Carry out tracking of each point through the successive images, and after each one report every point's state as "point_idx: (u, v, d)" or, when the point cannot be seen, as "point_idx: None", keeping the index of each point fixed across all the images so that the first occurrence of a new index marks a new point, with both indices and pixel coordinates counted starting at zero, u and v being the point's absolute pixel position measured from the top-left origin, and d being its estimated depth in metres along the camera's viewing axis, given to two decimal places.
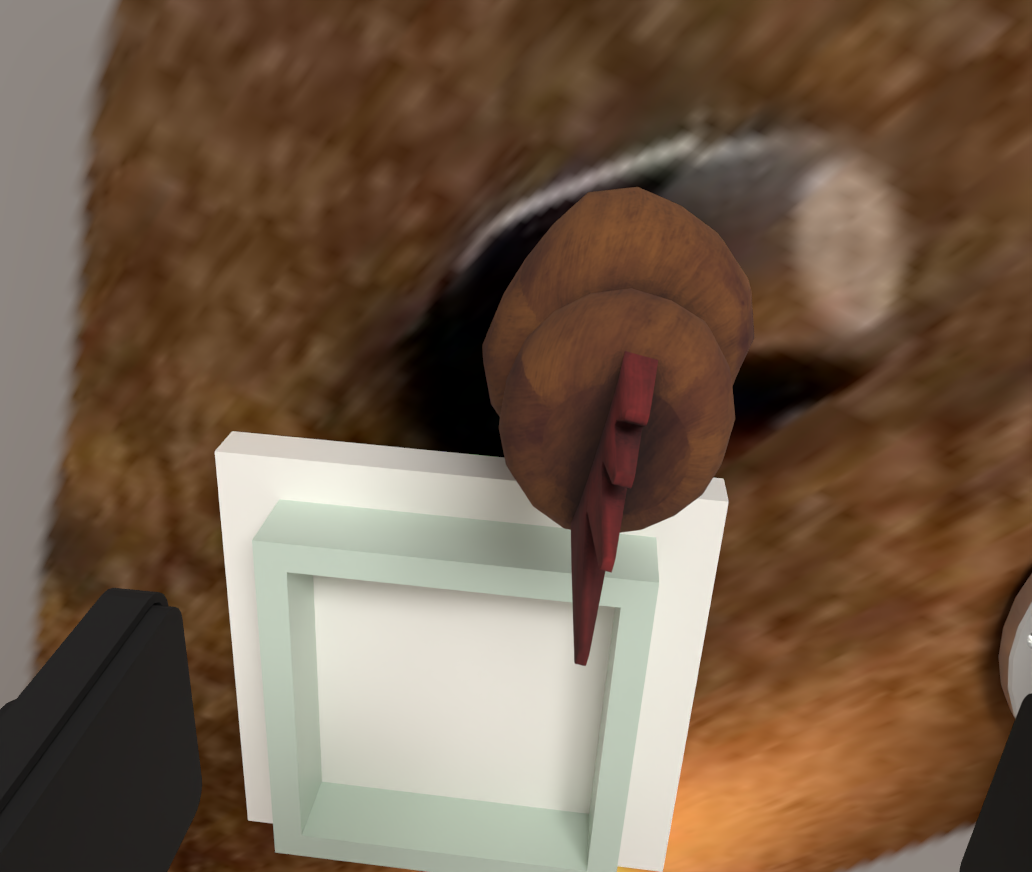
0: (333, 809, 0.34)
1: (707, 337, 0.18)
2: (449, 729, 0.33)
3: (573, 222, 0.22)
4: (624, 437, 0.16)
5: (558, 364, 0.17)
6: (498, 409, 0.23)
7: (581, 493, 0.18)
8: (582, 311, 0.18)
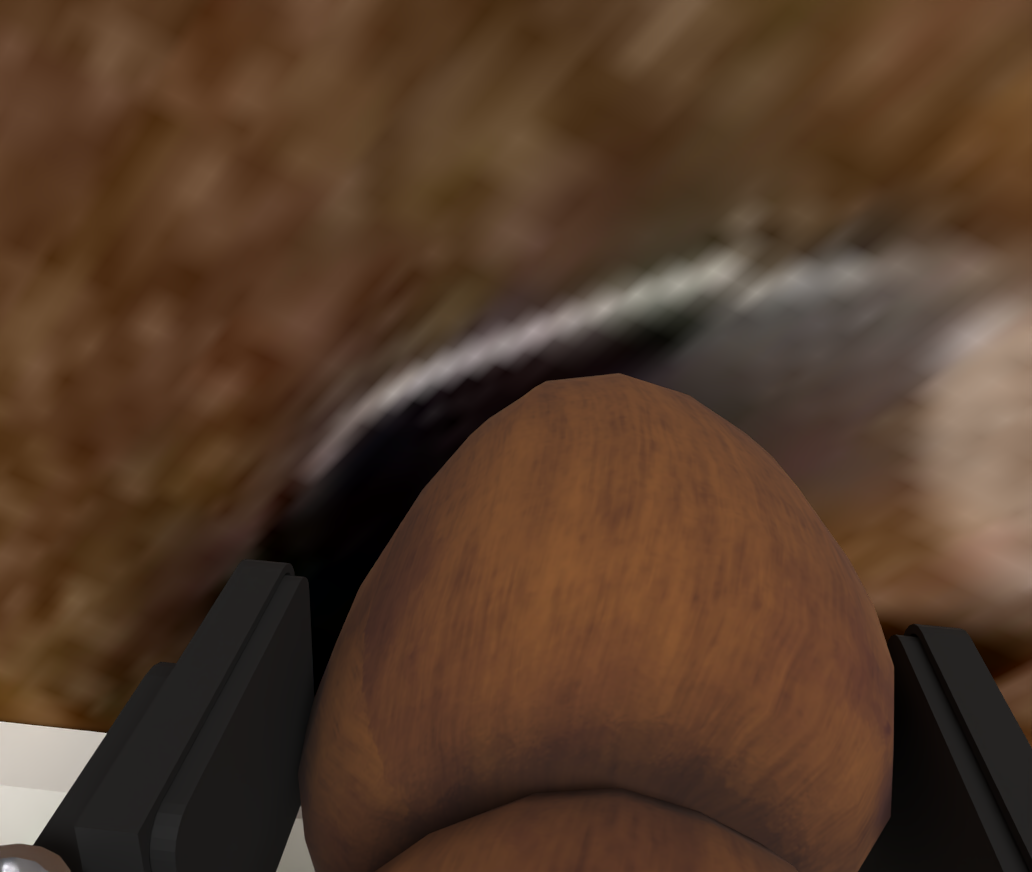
0: None
1: None
2: None
3: (481, 507, 0.09)
4: None
5: None
6: None
7: None
8: None
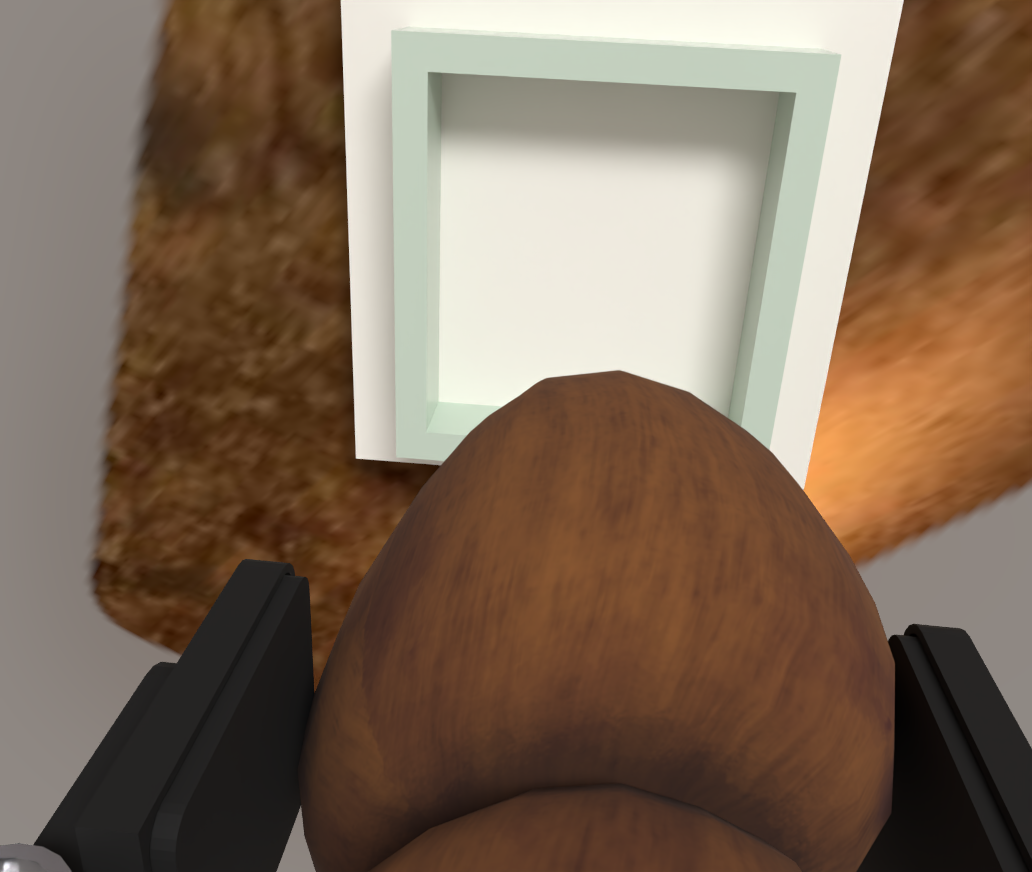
0: (455, 417, 0.32)
1: None
2: (580, 322, 0.31)
3: (480, 503, 0.09)
4: None
5: None
6: None
7: None
8: None
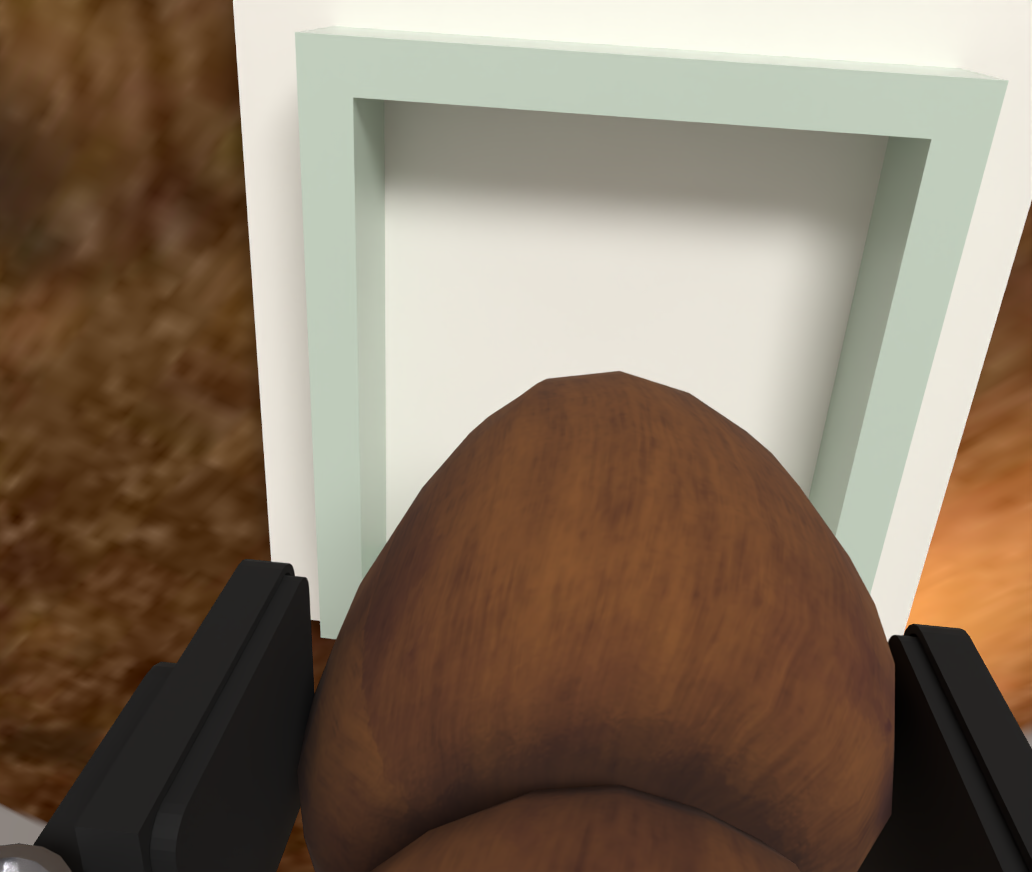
0: None
1: None
2: None
3: (480, 505, 0.09)
4: None
5: None
6: None
7: None
8: None
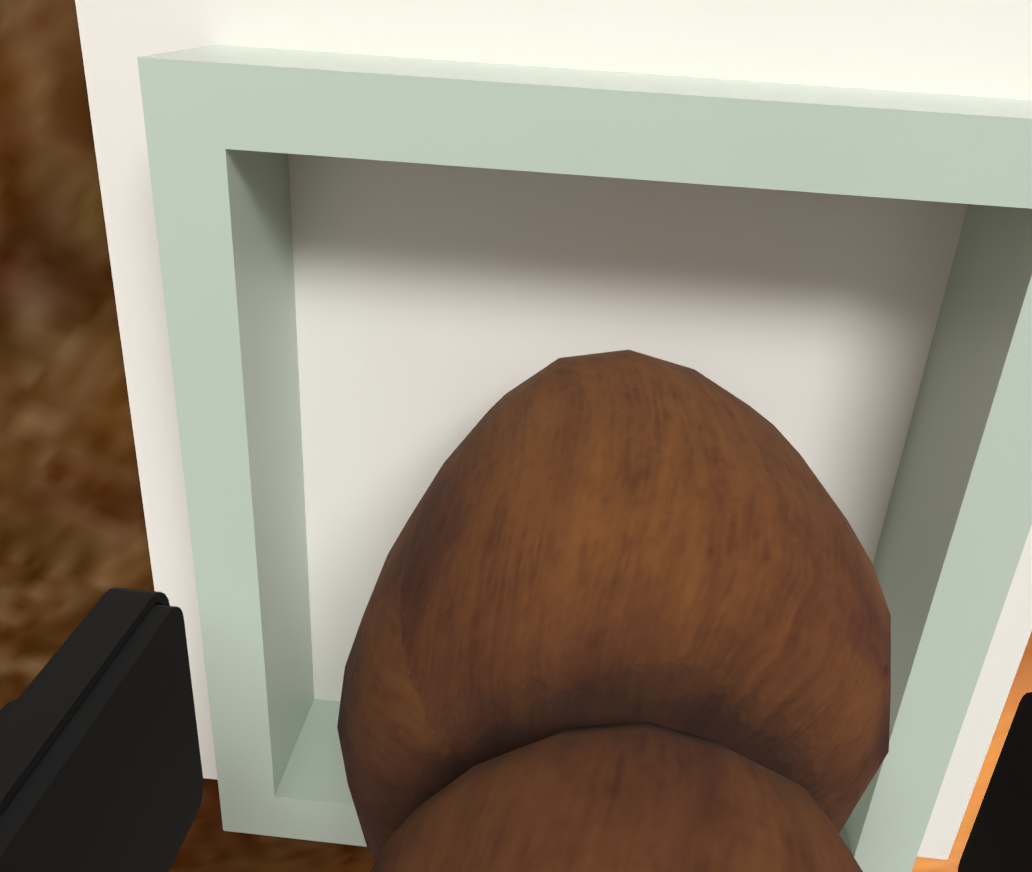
0: (337, 747, 0.18)
1: None
2: None
3: (508, 475, 0.10)
4: None
5: None
6: (366, 841, 0.11)
7: None
8: None
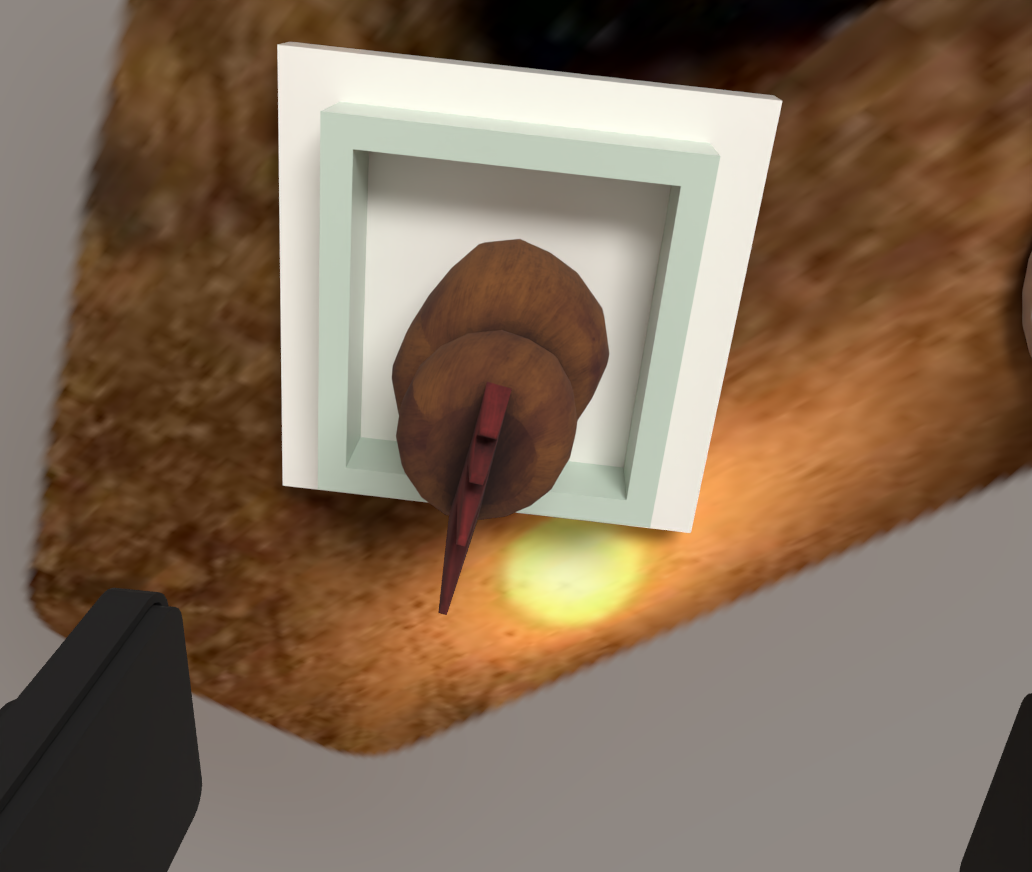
0: (374, 454, 0.35)
1: (553, 370, 0.23)
2: None
3: (462, 271, 0.27)
4: (482, 447, 0.22)
5: (438, 390, 0.23)
6: None
7: (456, 488, 0.24)
8: (458, 349, 0.24)
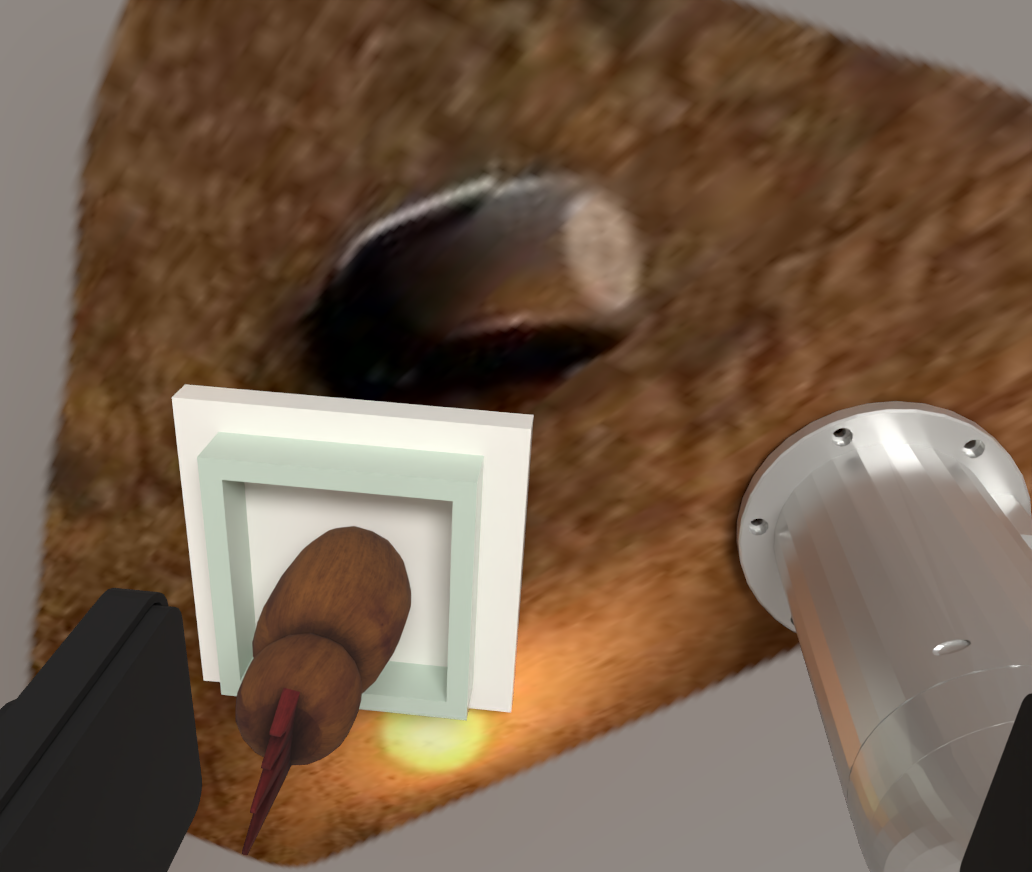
0: None
1: (333, 671, 0.35)
2: None
3: (294, 574, 0.39)
4: (274, 738, 0.33)
5: (253, 691, 0.35)
6: None
7: None
8: (271, 657, 0.35)
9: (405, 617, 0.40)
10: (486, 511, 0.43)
